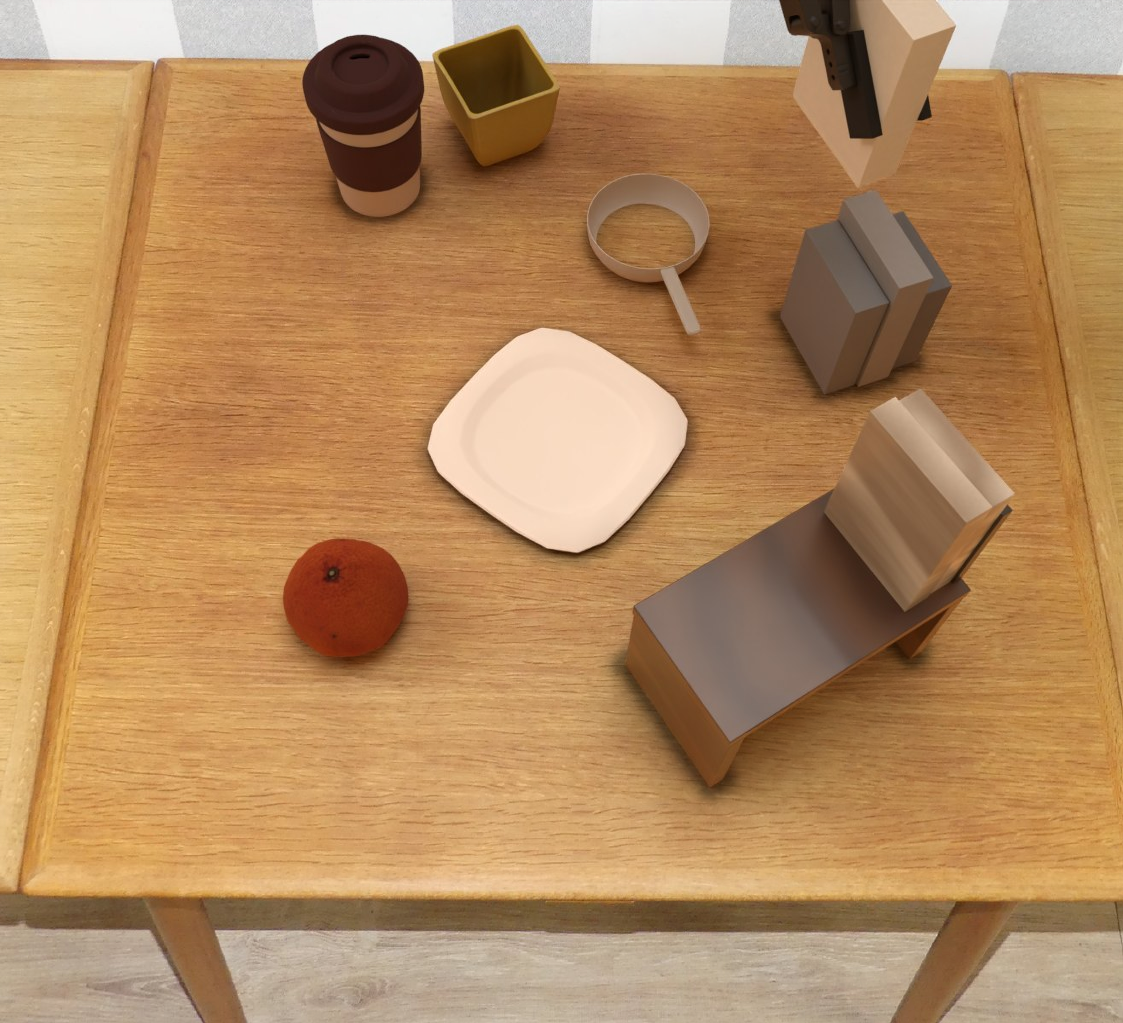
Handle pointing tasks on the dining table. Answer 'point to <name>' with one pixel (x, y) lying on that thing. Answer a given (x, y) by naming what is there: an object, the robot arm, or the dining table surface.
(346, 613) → the fruit
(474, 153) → the flower pot
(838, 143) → the white book
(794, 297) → the grey books
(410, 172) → the coffee cup
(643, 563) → the dining table surface
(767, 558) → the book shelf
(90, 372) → the dining table surface
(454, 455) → the plate
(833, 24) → the robot arm
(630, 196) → the saucepan
